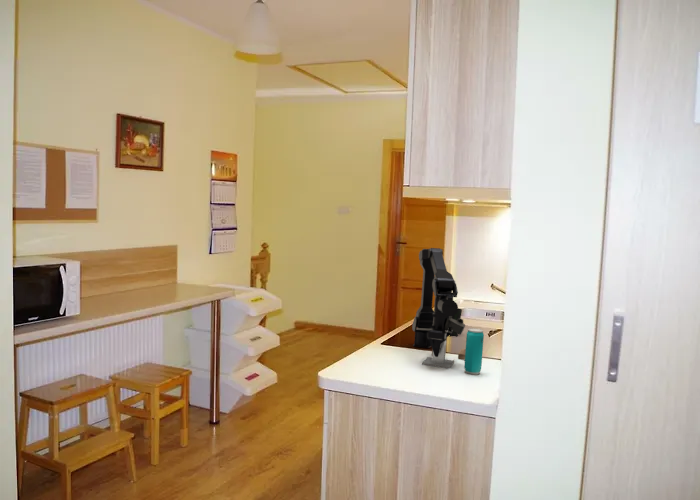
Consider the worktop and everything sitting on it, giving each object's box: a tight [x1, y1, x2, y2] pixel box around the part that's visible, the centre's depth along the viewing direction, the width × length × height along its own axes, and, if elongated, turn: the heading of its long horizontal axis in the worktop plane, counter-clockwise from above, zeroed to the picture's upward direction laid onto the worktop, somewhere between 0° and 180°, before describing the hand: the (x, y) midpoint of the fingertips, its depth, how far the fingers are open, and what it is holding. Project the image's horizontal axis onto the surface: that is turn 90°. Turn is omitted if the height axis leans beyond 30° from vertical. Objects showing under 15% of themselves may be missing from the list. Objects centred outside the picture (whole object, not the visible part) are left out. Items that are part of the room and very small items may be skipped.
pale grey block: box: [431, 339, 447, 364], centre depth 209 cm, size 4×4×8 cm
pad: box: [421, 356, 455, 369], centre depth 210 cm, size 10×10×1 cm
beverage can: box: [464, 327, 485, 376], centre depth 199 cm, size 6×6×15 cm
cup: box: [448, 307, 463, 337], centre depth 261 cm, size 8×8×12 cm
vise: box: [431, 348, 466, 361], centre depth 222 cm, size 18×9×2 cm, turn 71°
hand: (438, 353), depth 209 cm, fingers open, 9 cm apart
